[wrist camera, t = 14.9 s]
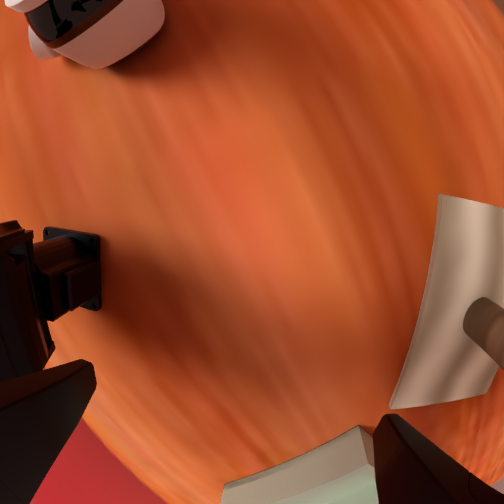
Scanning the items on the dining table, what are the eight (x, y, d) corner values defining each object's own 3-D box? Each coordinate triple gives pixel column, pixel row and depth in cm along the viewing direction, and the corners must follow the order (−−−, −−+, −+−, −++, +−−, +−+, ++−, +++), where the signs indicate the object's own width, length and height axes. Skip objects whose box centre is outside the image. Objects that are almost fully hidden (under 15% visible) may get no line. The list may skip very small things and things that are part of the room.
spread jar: (184, 39, 17) (112, -53, 5) (70, 115, 19) (-37, 93, 7) (145, -32, 15) (91, -99, 3) (53, 33, 17) (-22, -2, 5)
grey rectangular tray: (224, 484, 26) (217, 515, 21) (358, 425, 22) (367, 463, 17) (286, 513, 27) (284, 540, 22) (404, 463, 23) (413, 493, 18)
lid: (386, 401, 22) (413, 470, 13) (435, 193, 18) (512, 201, 9) (481, 387, 21) (518, 435, 12) (529, 216, 17) (593, 231, 8)
